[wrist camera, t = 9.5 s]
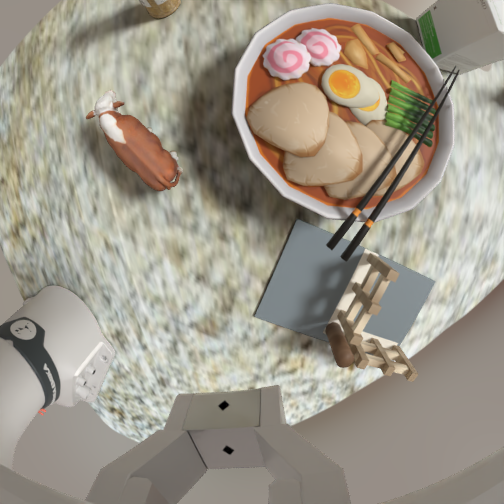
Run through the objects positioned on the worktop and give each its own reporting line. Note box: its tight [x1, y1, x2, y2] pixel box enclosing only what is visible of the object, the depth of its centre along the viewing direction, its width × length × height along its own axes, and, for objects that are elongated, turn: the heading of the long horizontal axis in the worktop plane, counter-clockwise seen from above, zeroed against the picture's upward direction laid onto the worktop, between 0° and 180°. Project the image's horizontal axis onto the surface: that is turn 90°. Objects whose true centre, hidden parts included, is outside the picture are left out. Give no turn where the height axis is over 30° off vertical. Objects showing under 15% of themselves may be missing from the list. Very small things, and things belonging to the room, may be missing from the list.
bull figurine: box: [86, 90, 183, 191], centre depth 28 cm, size 4×13×8 cm, turn 37°
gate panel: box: [337, 253, 400, 346], centre depth 31 cm, size 9×1×6 cm, turn 158°
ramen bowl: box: [231, 3, 460, 262], centre depth 26 cm, size 25×23×8 cm
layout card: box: [255, 219, 435, 360], centre depth 35 cm, size 13×21×1 cm, turn 69°
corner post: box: [325, 322, 354, 368], centre depth 33 cm, size 2×2×8 cm
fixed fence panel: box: [345, 334, 418, 382], centre depth 33 cm, size 9×1×7 cm, turn 69°
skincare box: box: [416, 0, 504, 75], centre depth 19 cm, size 8×7×16 cm
